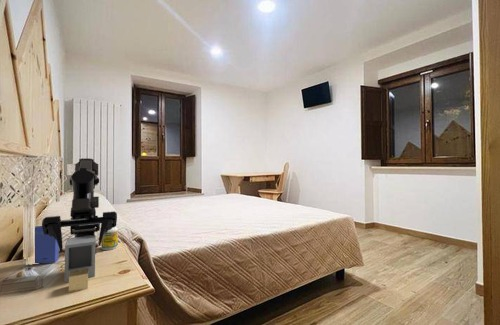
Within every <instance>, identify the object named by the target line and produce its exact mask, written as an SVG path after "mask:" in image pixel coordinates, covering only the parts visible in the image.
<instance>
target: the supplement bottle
mask: <svg viewBox="0 0 500 325" xmlns="http://www.w3.org/2000/svg"><path fill="white" fill-rule="evenodd" d="M118 246H119V228H118V227H117V226H116V227H113V228H112V229H111V230H108V231H107V233H106V234H105V236H104V238H103V240H102V243H101V249H102V250H103V251H110V250H114V249H117V248H118Z"/></svg>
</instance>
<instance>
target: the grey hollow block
mask: <svg viewBox="0 0 500 325" xmlns="http://www.w3.org/2000/svg"><path fill="white" fill-rule="evenodd" d="M95 245H96V235H92V236H84V237H76V238H75V237H69V238H67V239H66V242H65V244H64V283H69V275H70V271H73V270H79V269H84V268H88V278H92V277H93V278H94V277H95V276H96V247H95Z"/></svg>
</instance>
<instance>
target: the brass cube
mask: <svg viewBox="0 0 500 325" xmlns="http://www.w3.org/2000/svg"><path fill="white" fill-rule="evenodd" d="M88 288H89V277H88V268H84V269H79V270H73V271H70V275H69V281H68V293H73V292H77V291H82V290H88Z"/></svg>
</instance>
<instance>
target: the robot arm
mask: <svg viewBox="0 0 500 325" xmlns="http://www.w3.org/2000/svg"><path fill="white" fill-rule="evenodd" d="M98 176H99V164H98V162H96V161H94V159H93V158H87V157H86V158H79V160H78V162H76V163H75V166H74V172H73V173H72V174H71V176H70V178H69V185H70V187H71V188H72V192H73V196H72V199H71V207H70V214H69V215H70V217H71V218H70V219H61V215H53V216H51V215H50V216H45V217H44V218H43V219H42V220H41V226H42V228H43V232H44V234H46V235H49V236H54V238H55V239H56V241H57V243H58V246H59V252H62V251H63V247H64V246H63V234H62V233H63V232H62V228H66V227H70V228H69V229H70V236H72V235H74V238H76V237H84V236H92V235H95V233H98V231H100V232H99V236H98V244H95V248H98V247H99V246H102V240H103V238H104V236H105V234H106V233H107V231H108V230H111V229H112V228H113V227H117V222H118V221H117V220H118V219H117V218H118V213H117V212H116V211H103V212H102V216H99V215H96V214H97V213H96V212H97V210H96V209H98V208H99V205H100V203H99V202H100V201H99V199H100V198H99V196H95V191H94V189H96V187H95V186H98V184H99V183H100V178H99V177H98Z"/></svg>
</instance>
